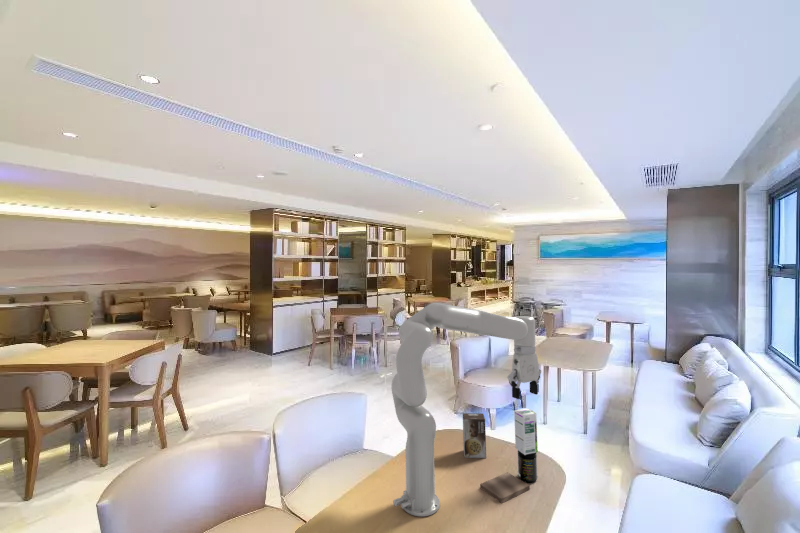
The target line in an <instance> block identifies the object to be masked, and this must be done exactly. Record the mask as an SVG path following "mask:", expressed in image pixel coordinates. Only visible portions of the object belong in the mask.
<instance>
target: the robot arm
mask: <svg viewBox="0 0 800 533" xmlns="http://www.w3.org/2000/svg"><path fill="white" fill-rule="evenodd" d="M435 328H440V329H443V330H448V331H454V332H455V331H456V332H462V333H467V334H468V333H469V334H474V335H480V336H488V337H495V338H501V339H507V340H511V341H513V352H514V353H513V357H512V365H511V372H510V373H509V374H508V375H507V377H506V378H507V380H508V383H509V386H511V397H512V398H514V399H517V400H520V399H521V388H520V386H521V384H522V383H523V384H525V383H529V393H530V394H533V395H538V393H539V392H538V390H539V387H538V386H539V385H538V384H539V383H540V382H539V380H540V378H541V374H542V370H541V369H539V359H538V354H537V352H536V320H535V318H534V317H532V316H527V315H519V316H507V315H505V316H504V315H500V314H494V313H490V312H487V311H483V310H479V309H474V308H468V307H463V306H457V305H452V304H448V303H447V304H446V303H440V302H432V303H430V304H428V305H426V306H425V307H423V308H421V309H420V310H418V312H416V313H415V314H413V315H412V316H410V317H409V318H407V319H406V320H405V321H403V322H402V324H401V325H400V326H399V329H398V335H399V338H400V340H401V341H402V343H401V344H400V346H399V348H398V349H397V351H396V356H395V365H396V366H395V367H396V374H395V375H393V377H392V378H393V379H392V381H391V394H392V398H393V400H392V401H393V405H394V408H395V409H394V410H395V414H396V418H397V421H398V422H399V423H400V425H401V426H402V427H403V428H404V430H405V431H406V434H407V435H406V436H407V437H406V442H405V450H404V451H405V452H404V453H405V490H403V494H402V495H400V497H397V498H395V499H393V501H392V503H393V504H392V505H393V506H394V507H398V506H400V508H401V509H403V510H404V511H405V513H407V514H408V515H411V516H415V517H427V516H431V515H433V514H436V512H437V511H438V510H439V509H440V506H441V505H440V498H439V496H438V495H436V492H435V491H436V490H435V489H436V486H435V485H436V484H435V438H436V433H437V424H436V419H435V418H434V416H433V415H432V413H431V412H430V411H429V410H428V409H426V408H425V407H424V406H423V405H424V403H425V402H426V399H427V396H428V394H427V386H426V380H425V376H424V371H423V362H422V361H423V360H422V359H423V356H424V355H425V352H426V351H427V350H428V349H429V347H430V346H431V345H432V344H433V343H432V342H433V340H434V333H433V329H435Z"/></svg>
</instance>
